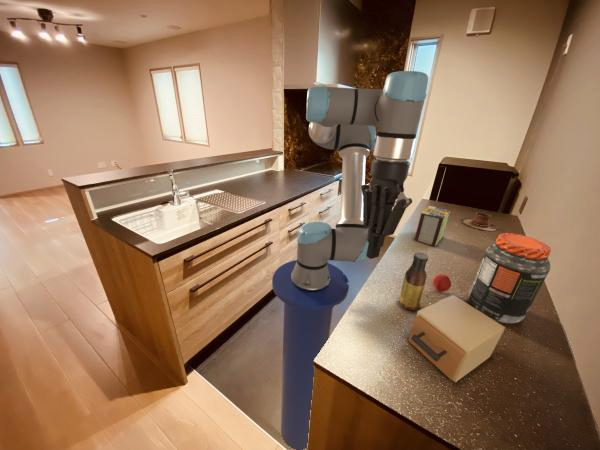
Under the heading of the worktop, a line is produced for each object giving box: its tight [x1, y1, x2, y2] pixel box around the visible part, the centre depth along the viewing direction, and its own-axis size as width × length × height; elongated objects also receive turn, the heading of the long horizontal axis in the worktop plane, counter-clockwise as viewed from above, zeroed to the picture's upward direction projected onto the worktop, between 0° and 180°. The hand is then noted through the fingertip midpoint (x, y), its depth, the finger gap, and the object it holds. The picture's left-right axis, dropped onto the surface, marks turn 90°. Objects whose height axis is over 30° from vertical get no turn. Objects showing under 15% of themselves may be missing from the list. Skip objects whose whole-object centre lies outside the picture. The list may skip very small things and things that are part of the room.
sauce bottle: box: [399, 251, 429, 311], centre depth 80 cm, size 7×6×20 cm
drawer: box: [407, 315, 466, 381], centre depth 65 cm, size 19×13×9 cm, turn 118°
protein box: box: [414, 205, 451, 247], centre depth 129 cm, size 10×15×16 cm
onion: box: [432, 273, 452, 293], centre depth 90 cm, size 6×6×8 cm
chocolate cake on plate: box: [462, 212, 497, 232], centre depth 152 cm, size 18×18×7 cm
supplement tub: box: [468, 232, 552, 324], centre depth 79 cm, size 16×16×26 cm
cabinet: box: [415, 294, 506, 383], centre depth 67 cm, size 16×14×11 cm
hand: (372, 256), depth 61 cm, fingers closed
